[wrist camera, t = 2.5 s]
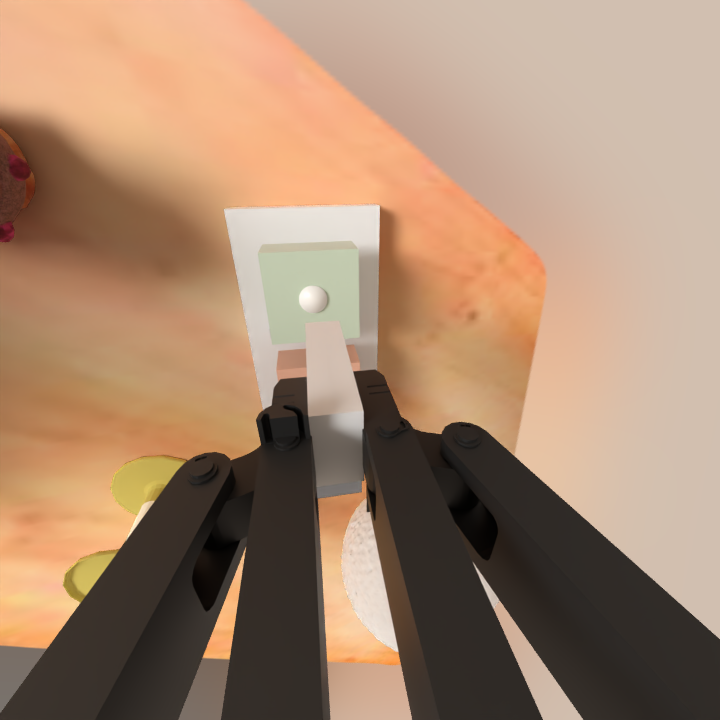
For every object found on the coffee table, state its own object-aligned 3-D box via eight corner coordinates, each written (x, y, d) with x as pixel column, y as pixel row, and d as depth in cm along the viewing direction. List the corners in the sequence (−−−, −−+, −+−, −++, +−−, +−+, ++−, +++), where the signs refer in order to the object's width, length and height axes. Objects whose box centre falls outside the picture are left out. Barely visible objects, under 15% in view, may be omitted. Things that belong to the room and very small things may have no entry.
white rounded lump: (295, 499, 40) (293, 664, 27) (406, 415, 37) (472, 555, 23) (390, 554, 50) (426, 698, 36) (487, 491, 46) (568, 624, 32)
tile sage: (274, 327, 25) (272, 345, 22) (262, 244, 22) (257, 253, 19) (353, 321, 26) (360, 338, 23) (351, 240, 23) (359, 249, 20)
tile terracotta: (287, 411, 29) (286, 436, 26) (278, 350, 26) (276, 371, 23) (355, 404, 29) (361, 427, 27) (353, 344, 27) (360, 363, 24)
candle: (96, 503, 36) (-281, 1113, 12) (133, 441, 33) (-270, 1091, 9) (188, 527, 40) (33, 1019, 16) (228, 475, 37) (109, 984, 14)
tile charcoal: (297, 475, 33) (297, 503, 30) (290, 429, 30) (289, 454, 27) (356, 467, 33) (362, 493, 31) (355, 421, 30) (361, 445, 28)
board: (276, 460, 37) (274, 483, 34) (229, 207, 24) (220, 210, 22) (372, 448, 38) (378, 469, 36) (374, 203, 26) (383, 206, 23)
